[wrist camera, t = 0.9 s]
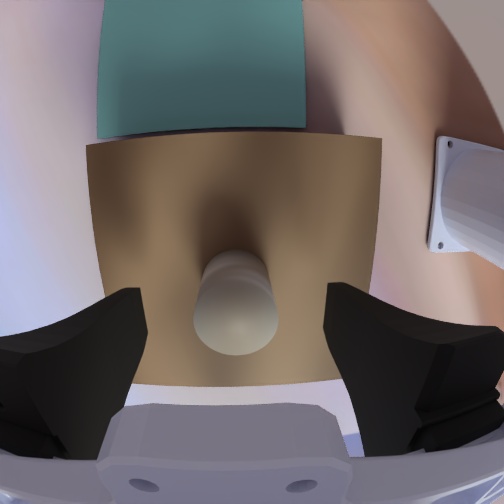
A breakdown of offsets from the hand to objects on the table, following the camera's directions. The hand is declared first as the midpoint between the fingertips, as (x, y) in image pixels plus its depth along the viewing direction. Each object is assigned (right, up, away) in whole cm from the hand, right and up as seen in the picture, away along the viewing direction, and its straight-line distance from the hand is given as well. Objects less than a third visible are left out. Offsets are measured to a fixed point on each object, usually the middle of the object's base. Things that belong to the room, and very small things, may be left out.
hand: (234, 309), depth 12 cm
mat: (-2, +15, +3) cm, 15 cm away
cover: (0, +2, +7) cm, 8 cm away
